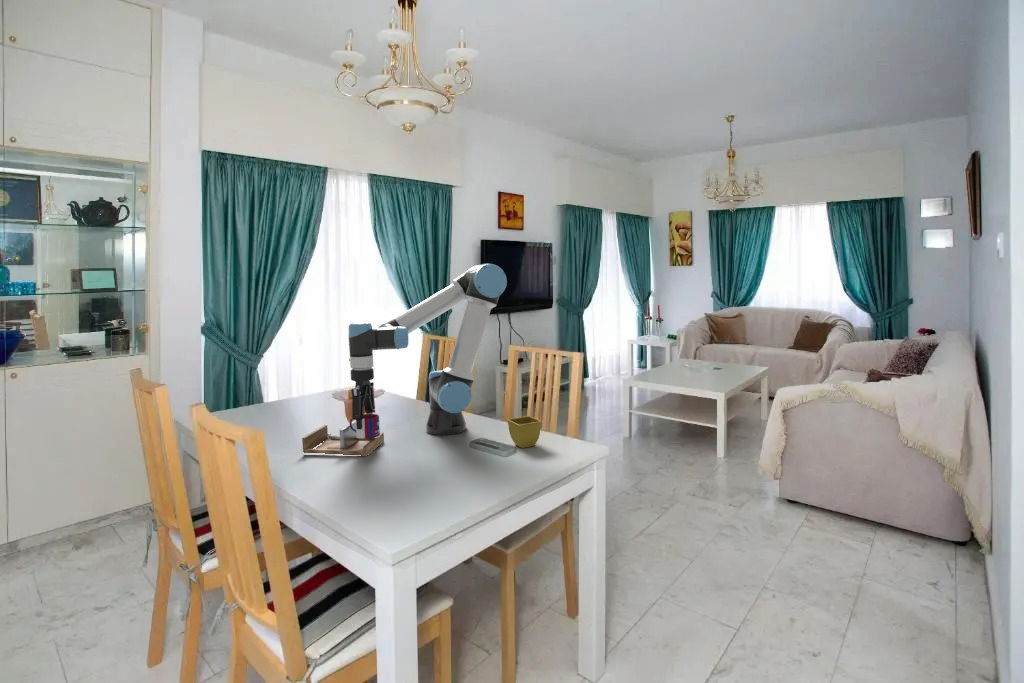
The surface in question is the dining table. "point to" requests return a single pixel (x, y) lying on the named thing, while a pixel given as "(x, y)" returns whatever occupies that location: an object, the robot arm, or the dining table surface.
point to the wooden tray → (338, 444)
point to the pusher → (346, 436)
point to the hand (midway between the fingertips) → (365, 434)
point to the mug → (370, 425)
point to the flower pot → (524, 431)
